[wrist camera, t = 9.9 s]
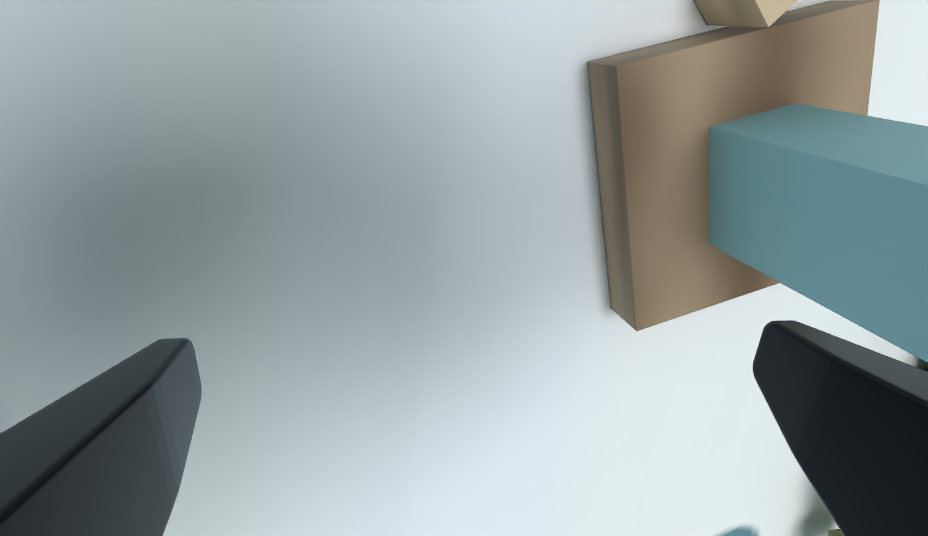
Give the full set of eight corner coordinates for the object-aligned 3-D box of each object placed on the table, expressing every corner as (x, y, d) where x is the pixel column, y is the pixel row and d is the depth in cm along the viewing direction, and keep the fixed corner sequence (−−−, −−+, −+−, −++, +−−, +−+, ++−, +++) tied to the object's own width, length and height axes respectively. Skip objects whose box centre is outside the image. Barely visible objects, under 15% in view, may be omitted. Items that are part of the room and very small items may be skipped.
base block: (611, 308, 25) (636, 331, 23) (587, 61, 21) (616, 66, 19) (814, 241, 27) (852, 258, 25) (831, 0, 22) (879, -1, 20)
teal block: (709, 243, 22) (1010, 407, 13) (709, 126, 21) (1061, 221, 11) (788, 219, 23) (1129, 359, 14) (795, 103, 21) (1199, 174, 12)
